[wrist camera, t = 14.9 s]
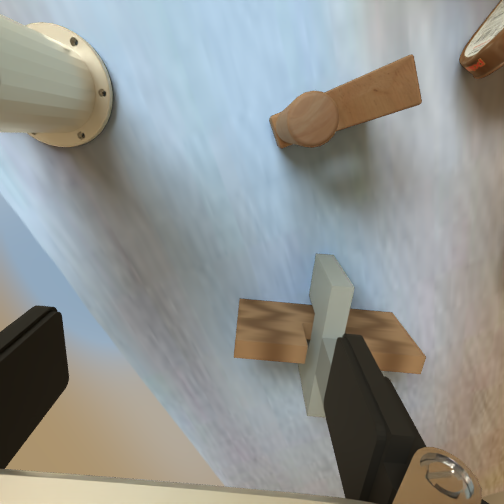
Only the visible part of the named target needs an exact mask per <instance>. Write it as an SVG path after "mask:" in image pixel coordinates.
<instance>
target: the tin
mask: <svg viewBox="0 0 504 504" xmlns="http://www.w3.org/2000/svg"><path fill="white" fill-rule="evenodd" d="M459 61H460V64H461V65H462V66H463V67H464V68H465V69H466V70H468V71H469V72H470V73H471V74H472V75H473V77H474V78H475V79H480V78H483V77H485V76H487V75H490V74H491V73H493V72H494V71H496V70H498V69H499V68H500V67H502V66H503V65H504V0H501V1H500V2H499V3H498V5H497V6H496V7H495V8H494V10H493V11H492V12H491V13H490V15H489V16H488V17H487V18H486V20H485V21H484V22H483V24H482V25H481V26H480V27H479V29H478V30H477V31H476V32H475V34H474V35H473V36H472V38H471V39H470V40H469V42H468V43H467V45H466V46H465V48H464V49H463V51H462V53H461V55H460V59H459Z"/></svg>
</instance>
